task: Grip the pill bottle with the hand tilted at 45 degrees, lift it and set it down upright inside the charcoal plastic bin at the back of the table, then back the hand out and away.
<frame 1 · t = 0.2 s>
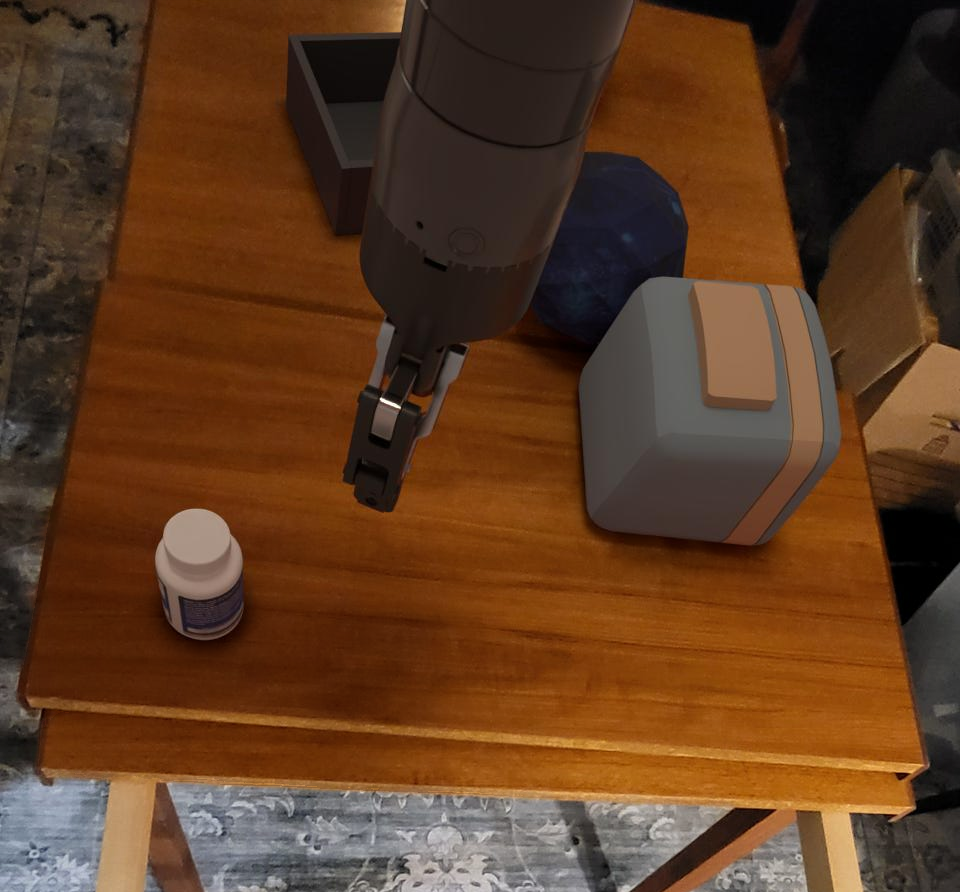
hand: (402, 441, 51), 20 cm above the table, tool pointing down, fingers open, 8 cm apart
planter: (541, 88, 96), on the table
decorative orb: (573, 312, 85), on the table
bin: (392, 164, 87), on the table
pill bottle: (204, 608, 67), on the table
grey rounded cube box: (667, 465, 81), on the table
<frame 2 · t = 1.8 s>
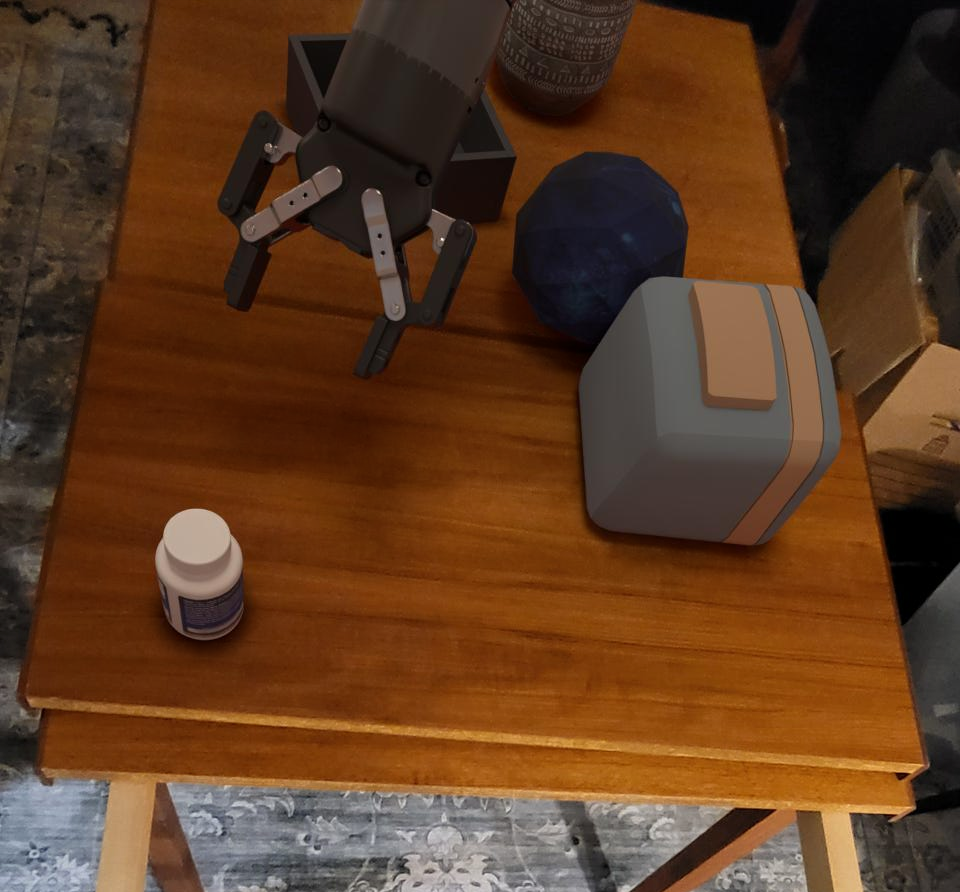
hand: (299, 343, 57), 16 cm above the table, tool tilted 45°, fingers open, 8 cm apart
nothing on the table moved.
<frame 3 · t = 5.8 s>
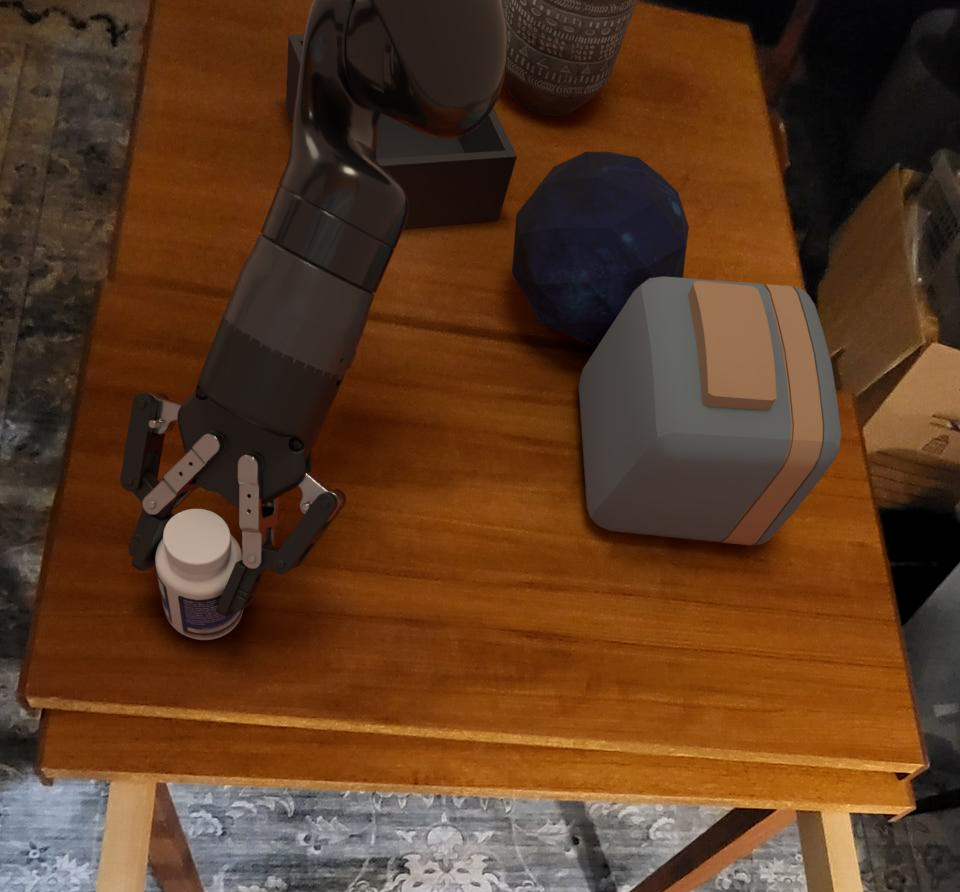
hand: (185, 588, 61), 6 cm above the table, tool tilted 45°, fingers closed on pill bottle, 5 cm apart
pill bottle: (204, 608, 67), on the table, touching gripper
everything else where it was.
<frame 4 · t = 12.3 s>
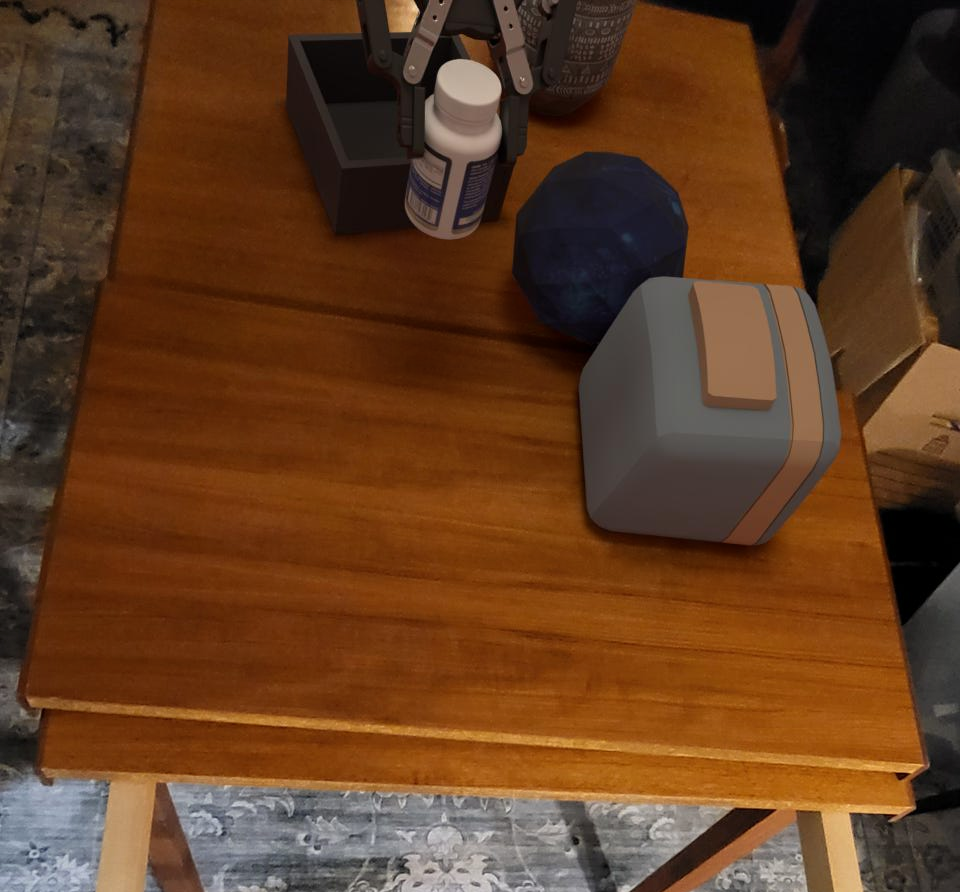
hand: (462, 160, 60), 20 cm above the table, tool tilted 45°, fingers closed on pill bottle, 5 cm apart
pill bottle: (441, 215, 66), point 14 cm above the table, touching gripper
everything else where it was.
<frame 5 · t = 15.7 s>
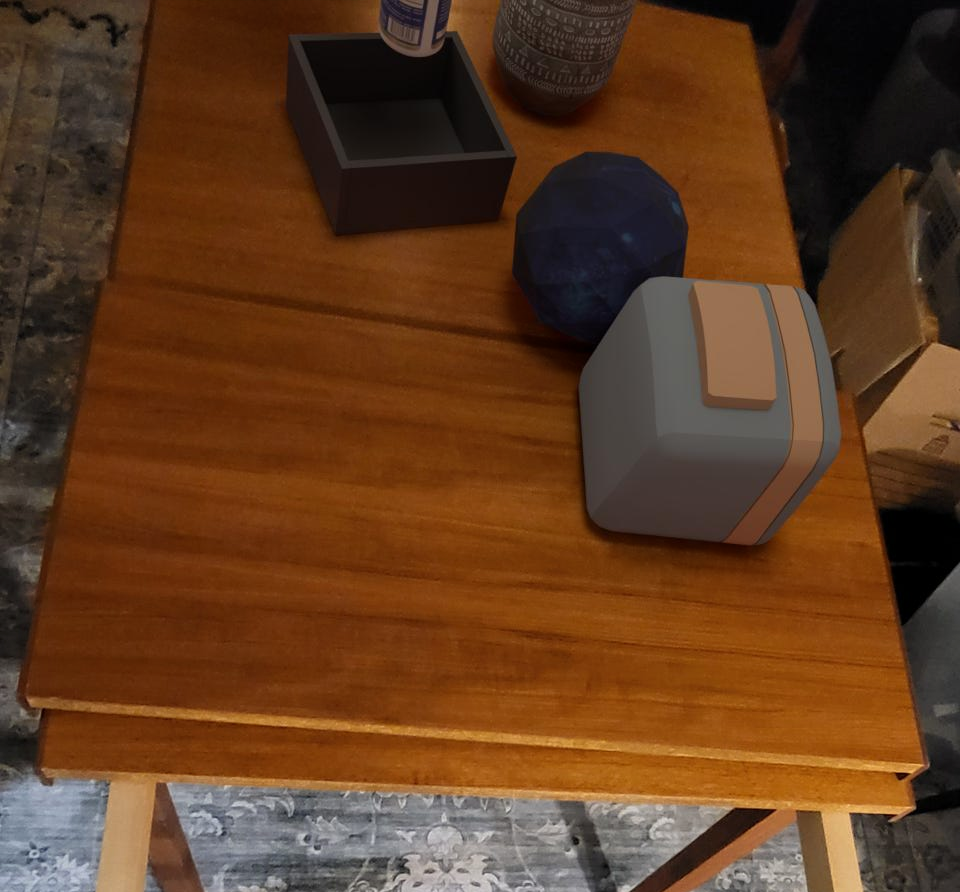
pill bottle: (410, 38, 77), point 12 cm above the table, touching gripper
everything else where it was.
when the fingers open (7 cm above the table, at t = 19.1 s): pill bottle stays where it is, resting on bin.
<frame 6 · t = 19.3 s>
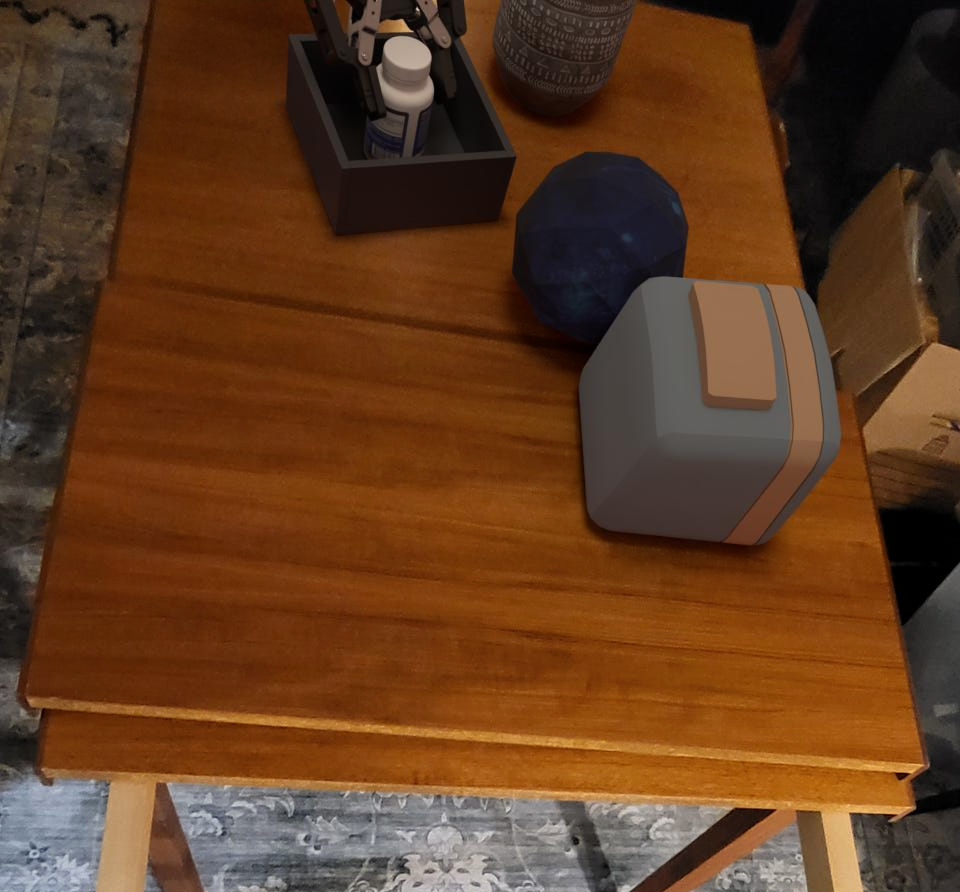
hand: (412, 110, 81), 7 cm above the table, tool tilted 45°, fingers open, 6 cm apart
pill bottle: (392, 157, 87), point 1 cm above the table, touching bin
everything else where it was.
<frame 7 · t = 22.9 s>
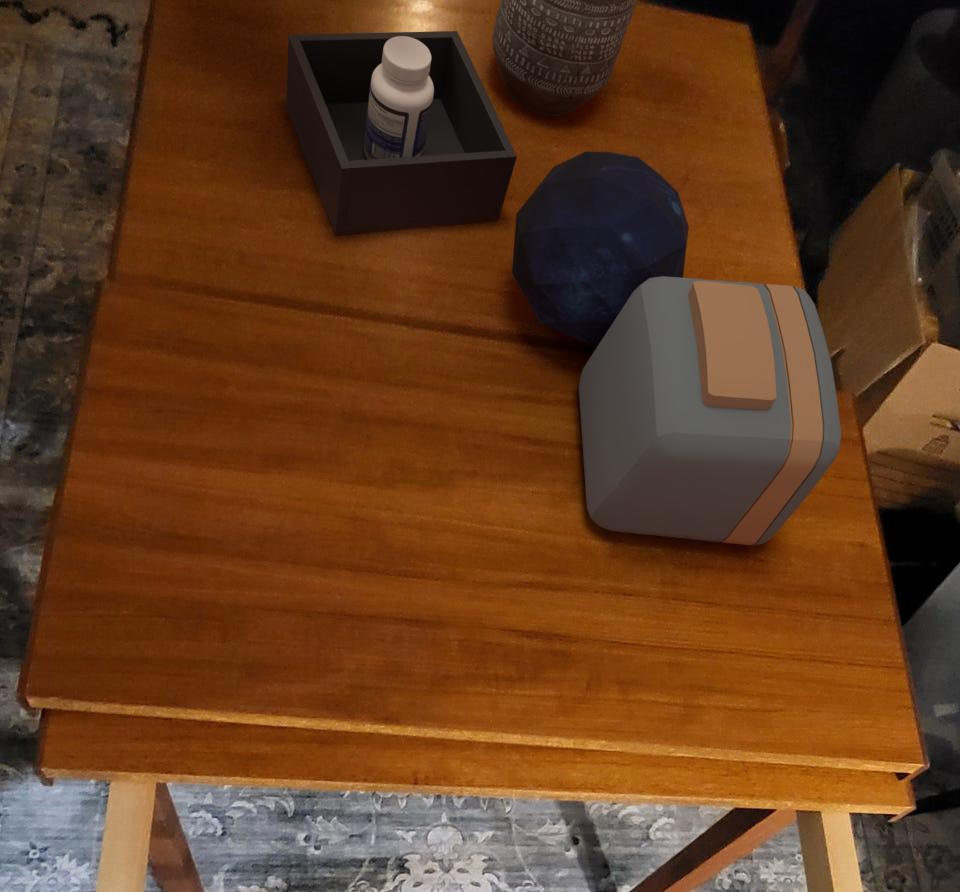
nothing on the table moved.
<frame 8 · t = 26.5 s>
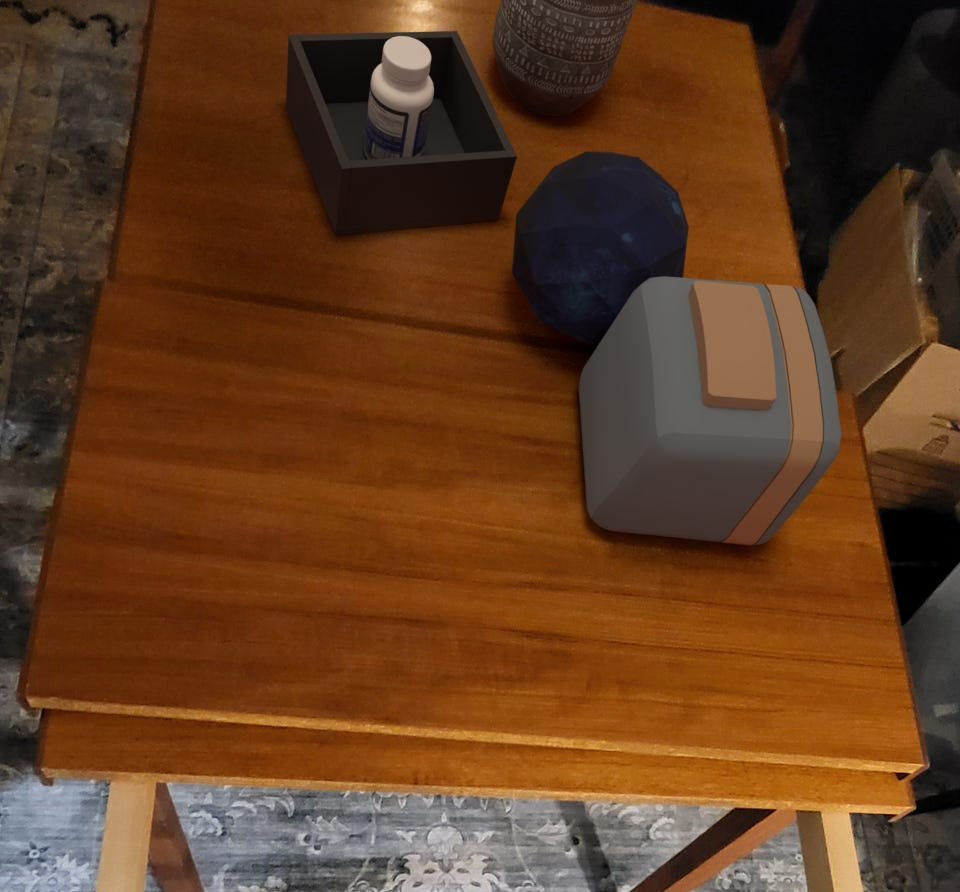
nothing on the table moved.
at the end: pill bottle inside the target area in the bin (0.1 cm from its centre), point 0.6 cm above the bin's base; pill bottle tilted 0°; the gripper is holding nothing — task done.
